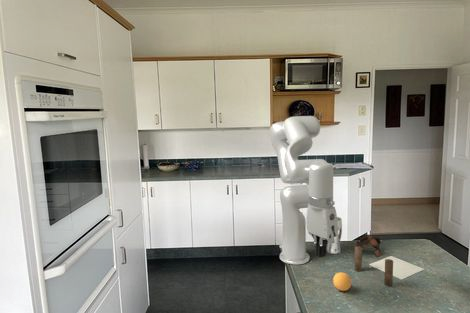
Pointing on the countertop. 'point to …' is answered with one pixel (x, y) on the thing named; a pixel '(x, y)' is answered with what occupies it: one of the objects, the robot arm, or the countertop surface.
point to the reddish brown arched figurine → (366, 243)
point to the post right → (388, 273)
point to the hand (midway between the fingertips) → (320, 255)
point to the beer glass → (336, 240)
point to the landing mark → (398, 267)
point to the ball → (342, 281)
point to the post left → (358, 259)
